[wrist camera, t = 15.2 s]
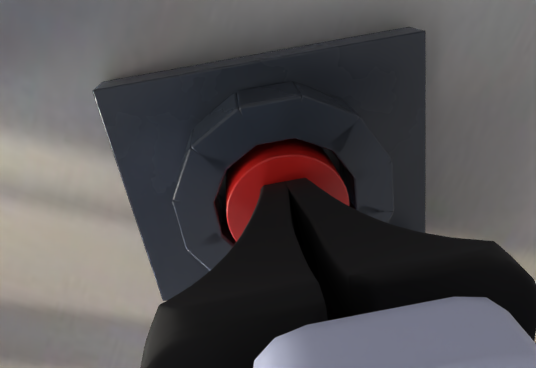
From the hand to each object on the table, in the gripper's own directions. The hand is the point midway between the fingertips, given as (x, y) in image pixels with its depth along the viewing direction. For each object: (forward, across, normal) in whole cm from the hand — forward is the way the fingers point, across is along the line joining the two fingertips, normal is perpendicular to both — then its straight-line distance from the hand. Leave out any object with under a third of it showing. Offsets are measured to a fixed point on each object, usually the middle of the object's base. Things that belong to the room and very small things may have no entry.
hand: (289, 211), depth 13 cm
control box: (+3, 0, 0) cm, 3 cm away
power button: (+2, 0, 0) cm, 2 cm away
